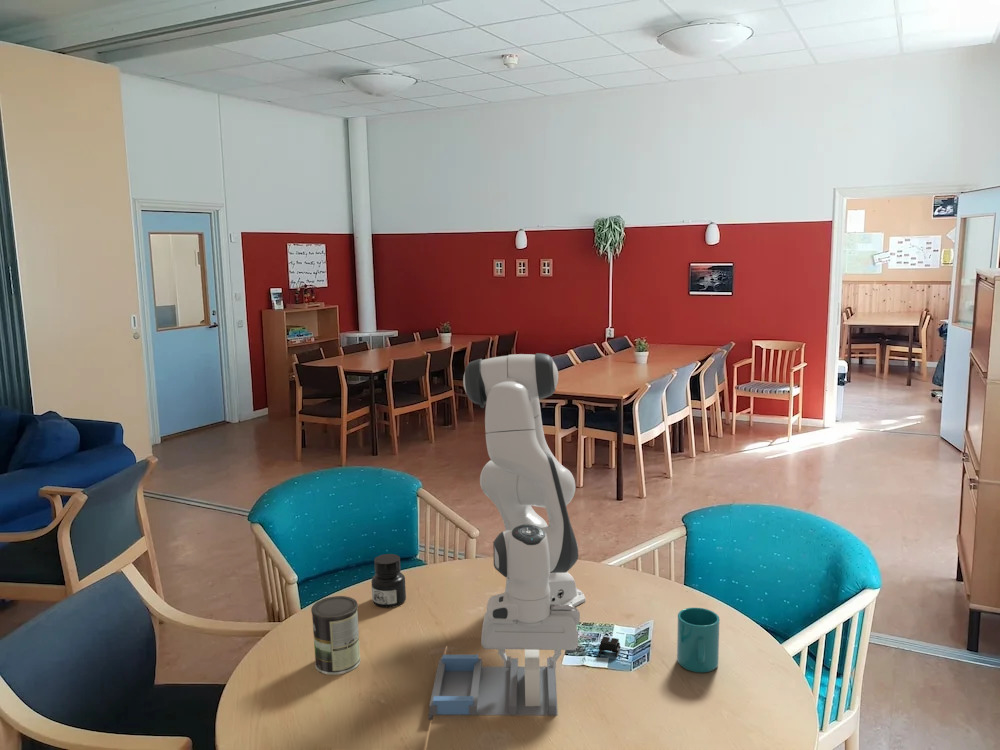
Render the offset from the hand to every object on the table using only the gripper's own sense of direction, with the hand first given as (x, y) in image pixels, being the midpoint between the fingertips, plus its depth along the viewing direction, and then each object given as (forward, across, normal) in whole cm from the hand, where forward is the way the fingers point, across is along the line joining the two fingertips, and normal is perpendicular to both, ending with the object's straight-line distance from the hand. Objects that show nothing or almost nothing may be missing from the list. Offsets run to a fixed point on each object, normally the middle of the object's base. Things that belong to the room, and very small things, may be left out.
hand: (529, 666), depth 164 cm
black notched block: (+7, -18, -16) cm, 25 cm away
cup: (+6, -37, -12) cm, 40 cm away
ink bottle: (+6, +38, -44) cm, 58 cm away
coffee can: (+7, +44, -12) cm, 46 cm away
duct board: (+7, +7, 0) cm, 10 cm away
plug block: (+6, 0, -1) cm, 6 cm away
